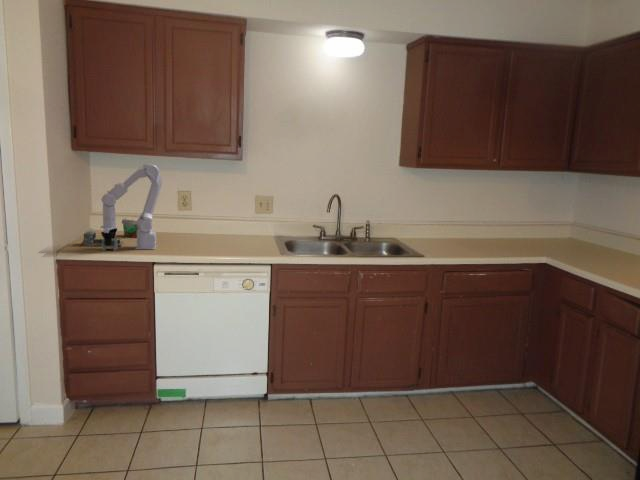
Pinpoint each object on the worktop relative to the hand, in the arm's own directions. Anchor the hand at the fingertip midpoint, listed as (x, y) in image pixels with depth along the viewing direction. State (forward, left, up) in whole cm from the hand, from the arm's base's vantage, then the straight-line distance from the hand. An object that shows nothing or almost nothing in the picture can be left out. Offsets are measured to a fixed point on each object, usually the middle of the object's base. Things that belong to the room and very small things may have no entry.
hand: (109, 244), depth 248 cm
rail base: (+6, -11, -3) cm, 13 cm away
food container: (-4, -33, -3) cm, 34 cm away
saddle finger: (0, 0, -3) cm, 3 cm away
